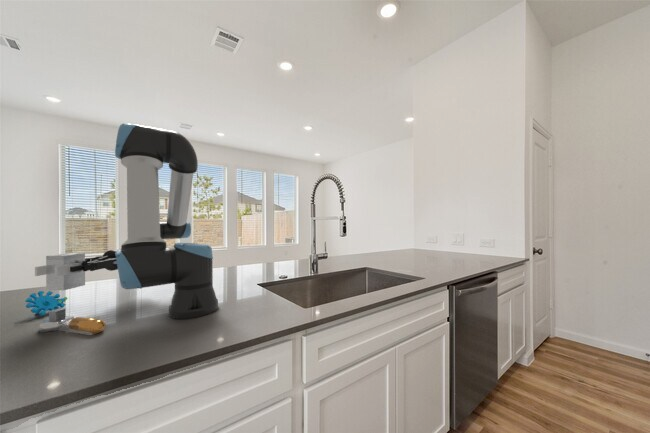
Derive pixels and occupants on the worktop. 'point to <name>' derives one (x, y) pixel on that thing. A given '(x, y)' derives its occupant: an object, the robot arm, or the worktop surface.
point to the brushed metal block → (64, 280)
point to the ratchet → (71, 323)
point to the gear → (45, 302)
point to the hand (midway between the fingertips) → (46, 271)
